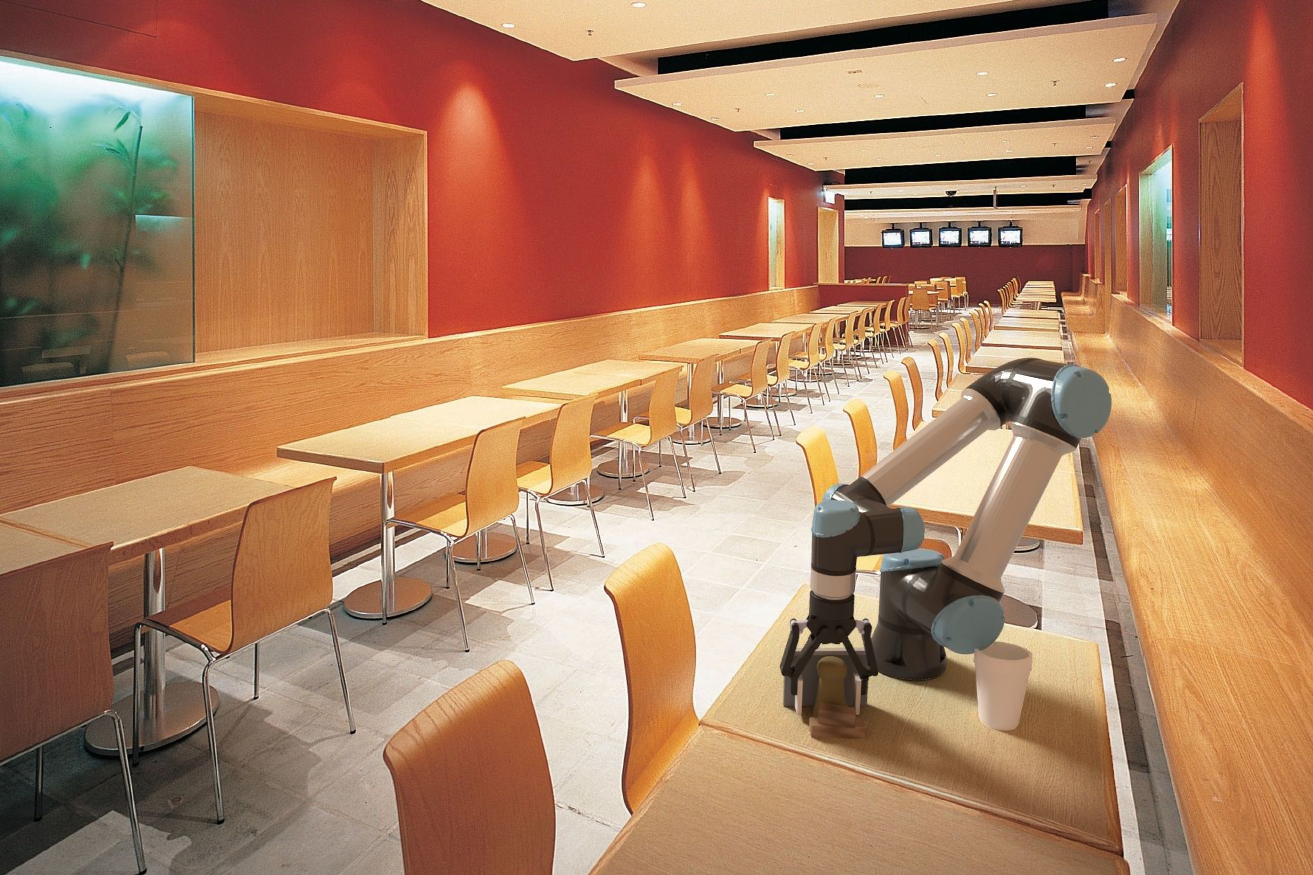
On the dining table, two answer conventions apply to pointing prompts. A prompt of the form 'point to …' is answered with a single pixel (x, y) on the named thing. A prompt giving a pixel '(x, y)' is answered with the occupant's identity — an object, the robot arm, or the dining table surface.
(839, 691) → the cork
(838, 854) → the dining table surface
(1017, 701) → the foam cup
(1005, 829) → the dining table surface
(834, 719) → the offcut top
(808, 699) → the board
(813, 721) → the offcut low
